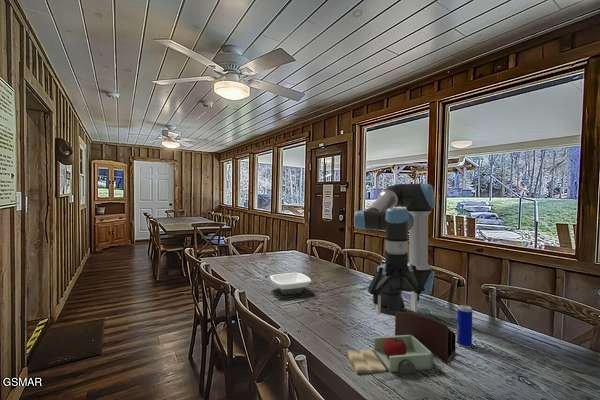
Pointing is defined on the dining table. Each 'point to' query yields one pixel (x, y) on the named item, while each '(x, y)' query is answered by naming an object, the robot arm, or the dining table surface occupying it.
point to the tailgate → (366, 361)
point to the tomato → (394, 346)
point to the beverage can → (464, 325)
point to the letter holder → (427, 333)
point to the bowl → (290, 282)
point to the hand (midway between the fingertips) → (396, 312)
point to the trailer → (409, 363)
